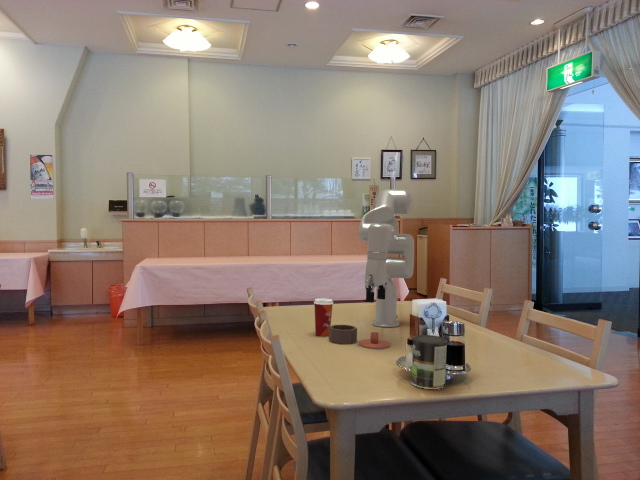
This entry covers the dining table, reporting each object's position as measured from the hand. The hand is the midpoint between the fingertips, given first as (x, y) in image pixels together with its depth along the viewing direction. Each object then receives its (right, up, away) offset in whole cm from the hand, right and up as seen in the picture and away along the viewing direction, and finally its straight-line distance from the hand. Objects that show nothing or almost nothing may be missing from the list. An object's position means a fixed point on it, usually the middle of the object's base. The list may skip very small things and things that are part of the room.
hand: (375, 300), depth 209 cm
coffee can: (+11, -21, -44) cm, 50 cm away
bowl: (-12, -17, +6) cm, 22 cm away
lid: (0, -17, +1) cm, 17 cm away
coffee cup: (-20, -17, +18) cm, 32 cm away
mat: (0, -18, +1) cm, 18 cm away
